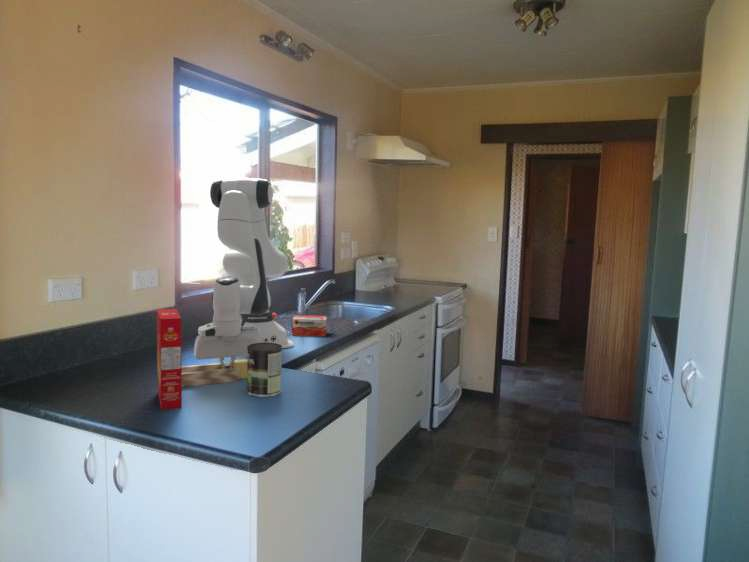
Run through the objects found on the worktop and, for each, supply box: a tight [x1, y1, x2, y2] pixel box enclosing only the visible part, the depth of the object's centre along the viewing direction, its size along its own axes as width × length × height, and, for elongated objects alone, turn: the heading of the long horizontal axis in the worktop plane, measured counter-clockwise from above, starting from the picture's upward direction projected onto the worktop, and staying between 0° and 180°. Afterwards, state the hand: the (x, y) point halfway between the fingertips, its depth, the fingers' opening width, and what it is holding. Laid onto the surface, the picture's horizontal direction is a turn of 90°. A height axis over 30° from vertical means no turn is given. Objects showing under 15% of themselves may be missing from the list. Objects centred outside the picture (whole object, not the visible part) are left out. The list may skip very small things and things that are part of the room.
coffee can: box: [246, 343, 283, 398], centre depth 171 cm, size 10×10×14 cm
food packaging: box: [156, 308, 183, 411], centre depth 160 cm, size 15×5×25 cm, turn 24°
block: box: [232, 358, 248, 380], centre depth 186 cm, size 5×5×5 cm
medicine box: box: [291, 314, 328, 337], centre depth 255 cm, size 15×8×8 cm, turn 91°
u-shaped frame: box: [182, 361, 241, 388], centre depth 181 cm, size 20×9×5 cm, turn 117°
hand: (226, 370), depth 184 cm, fingers closed
